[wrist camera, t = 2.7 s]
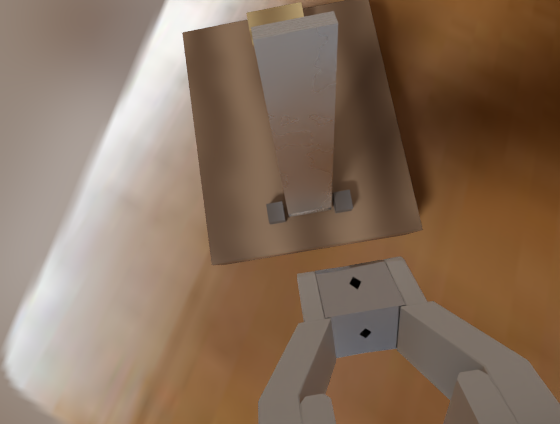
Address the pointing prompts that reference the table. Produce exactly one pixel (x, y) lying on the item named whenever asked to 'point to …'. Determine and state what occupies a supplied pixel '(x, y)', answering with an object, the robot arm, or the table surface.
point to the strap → (301, 104)
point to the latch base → (261, 151)
